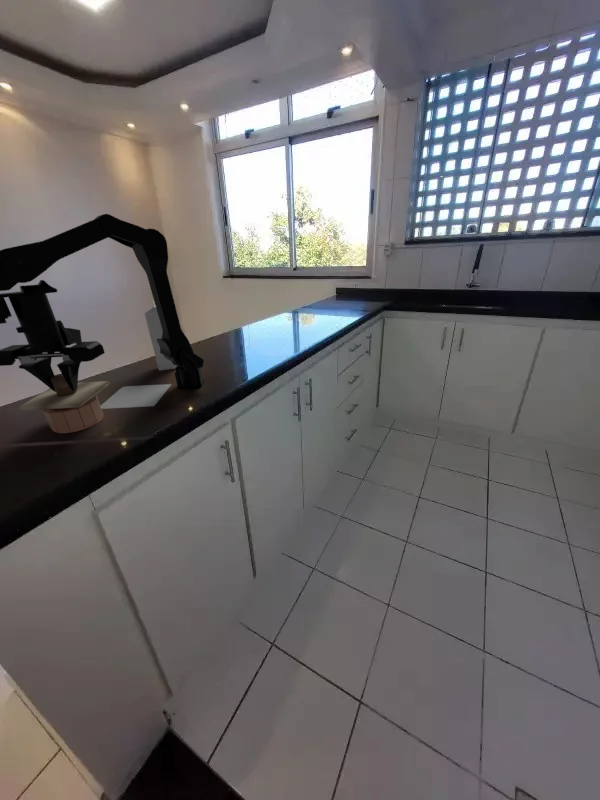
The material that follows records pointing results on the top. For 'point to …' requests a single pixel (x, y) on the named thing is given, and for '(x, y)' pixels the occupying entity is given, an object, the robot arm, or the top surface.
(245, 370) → the top surface
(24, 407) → the cover
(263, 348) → the top surface
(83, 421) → the bowl
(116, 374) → the top surface
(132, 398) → the mat
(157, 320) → the milk
